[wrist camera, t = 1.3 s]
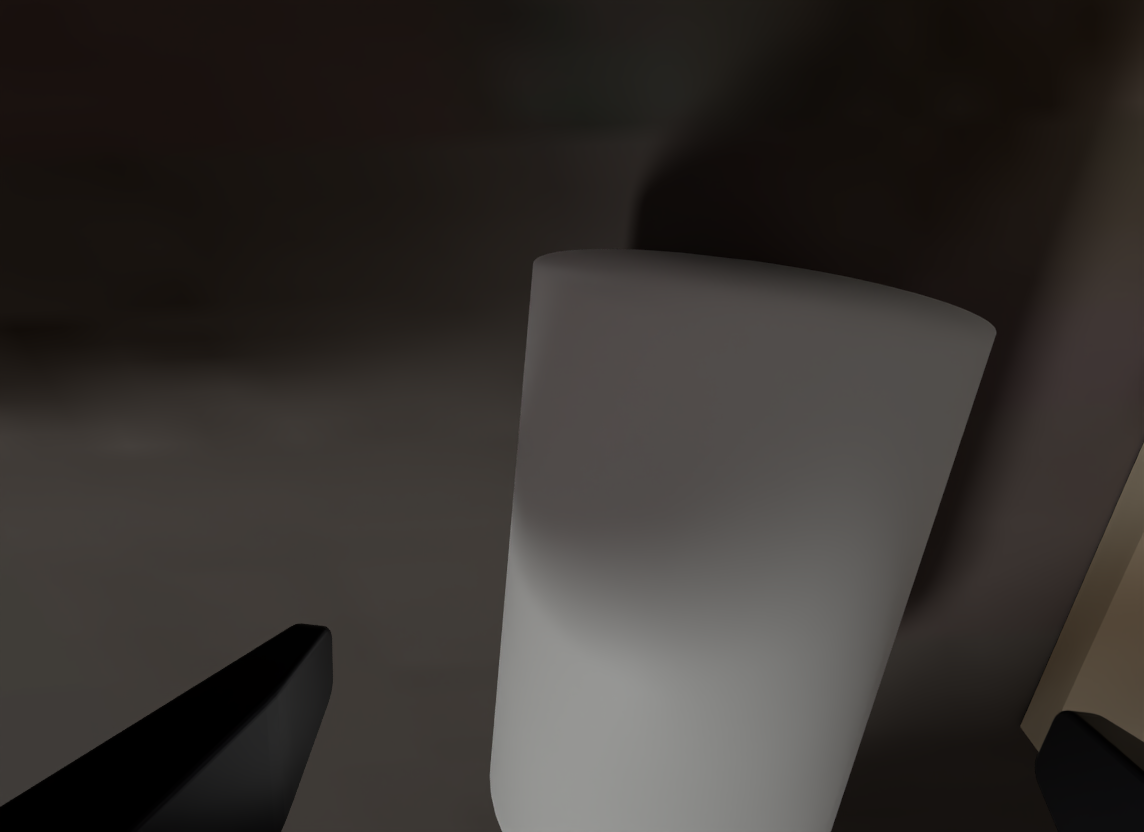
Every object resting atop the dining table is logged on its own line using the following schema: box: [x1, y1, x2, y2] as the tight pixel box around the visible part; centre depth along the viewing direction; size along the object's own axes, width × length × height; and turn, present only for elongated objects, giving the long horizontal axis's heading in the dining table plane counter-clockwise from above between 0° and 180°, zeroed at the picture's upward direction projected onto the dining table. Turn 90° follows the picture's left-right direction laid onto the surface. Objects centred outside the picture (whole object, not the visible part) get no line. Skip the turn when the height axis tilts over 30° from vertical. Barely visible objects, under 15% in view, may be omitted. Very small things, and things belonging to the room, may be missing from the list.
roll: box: [490, 249, 997, 832], centre depth 11 cm, size 9×6×6 cm, turn 174°
